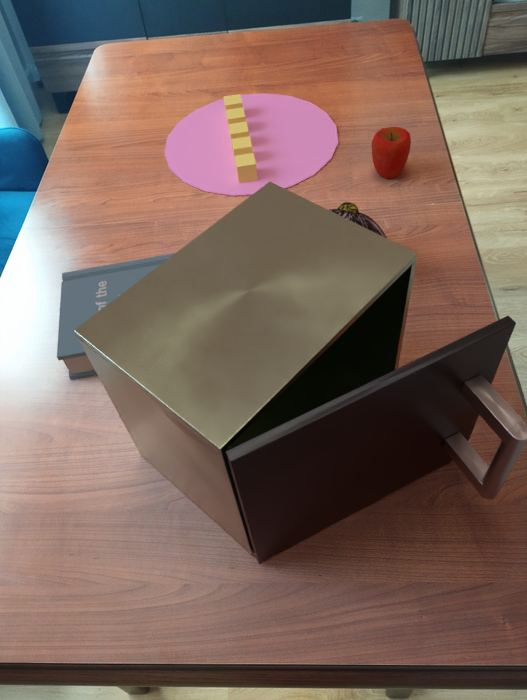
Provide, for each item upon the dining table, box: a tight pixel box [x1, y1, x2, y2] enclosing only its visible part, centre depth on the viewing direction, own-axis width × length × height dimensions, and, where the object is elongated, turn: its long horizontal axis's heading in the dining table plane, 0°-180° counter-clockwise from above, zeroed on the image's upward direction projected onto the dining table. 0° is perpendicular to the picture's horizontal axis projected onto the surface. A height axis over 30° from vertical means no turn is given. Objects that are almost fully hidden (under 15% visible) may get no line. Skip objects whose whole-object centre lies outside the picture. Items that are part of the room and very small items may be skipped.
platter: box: [163, 92, 339, 197], centre depth 106 cm, size 32×32×3 cm
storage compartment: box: [74, 182, 418, 556], centre depth 61 cm, size 18×26×24 cm
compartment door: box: [226, 315, 527, 565], centre depth 52 cm, size 8×26×23 cm, turn 116°
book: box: [56, 252, 176, 380], centre depth 80 cm, size 23×16×5 cm
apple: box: [371, 126, 412, 179], centre depth 95 cm, size 6×6×8 cm
